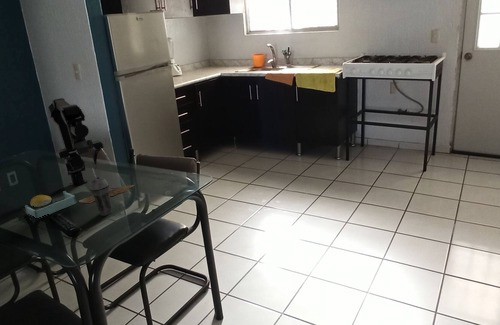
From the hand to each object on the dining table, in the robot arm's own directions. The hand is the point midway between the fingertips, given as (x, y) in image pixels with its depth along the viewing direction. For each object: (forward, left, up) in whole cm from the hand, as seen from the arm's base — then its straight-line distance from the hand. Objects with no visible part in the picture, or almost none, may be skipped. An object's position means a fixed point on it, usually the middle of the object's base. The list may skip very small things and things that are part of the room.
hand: (85, 167), depth 185 cm
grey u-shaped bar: (-2, -18, -14) cm, 22 cm away
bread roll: (-14, -18, -14) cm, 27 cm away
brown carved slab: (+6, +4, -14) cm, 16 cm away
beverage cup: (+26, -8, -14) cm, 30 cm away
